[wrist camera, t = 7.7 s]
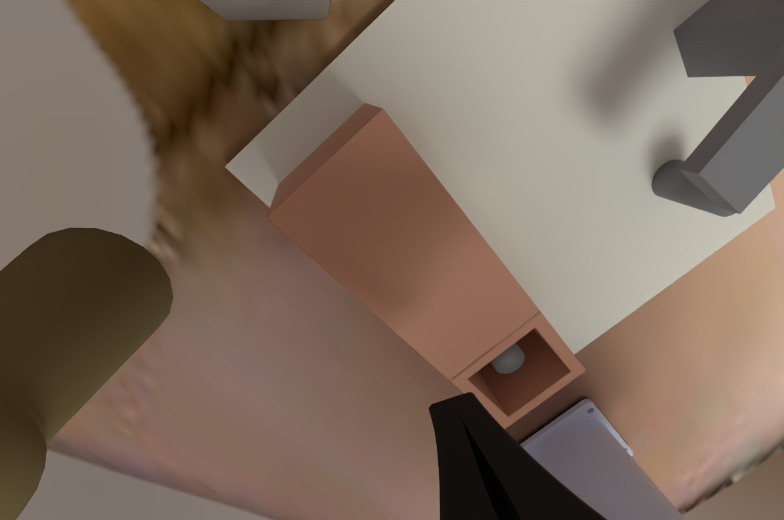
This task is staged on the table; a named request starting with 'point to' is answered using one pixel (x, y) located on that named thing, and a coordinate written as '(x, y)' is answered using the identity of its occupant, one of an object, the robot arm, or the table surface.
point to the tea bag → (269, 9)
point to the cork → (66, 339)
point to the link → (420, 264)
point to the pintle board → (567, 135)
